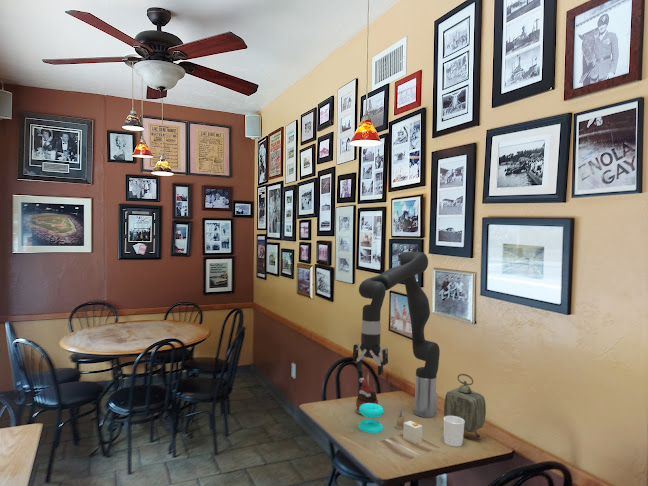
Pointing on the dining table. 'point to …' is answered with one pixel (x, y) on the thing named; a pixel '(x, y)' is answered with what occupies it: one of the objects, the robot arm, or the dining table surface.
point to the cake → (365, 394)
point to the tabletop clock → (466, 406)
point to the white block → (412, 432)
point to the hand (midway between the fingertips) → (369, 372)
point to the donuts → (371, 412)
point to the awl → (400, 421)
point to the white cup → (453, 430)
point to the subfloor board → (406, 447)
